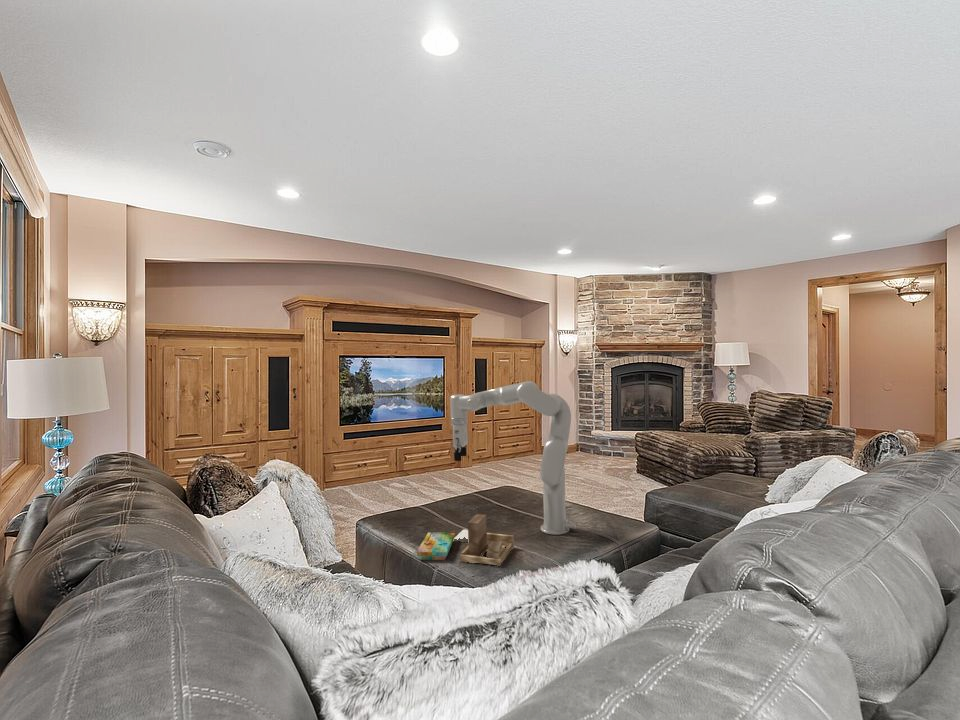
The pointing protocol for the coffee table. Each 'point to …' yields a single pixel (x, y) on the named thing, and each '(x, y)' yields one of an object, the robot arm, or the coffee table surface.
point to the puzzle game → (435, 546)
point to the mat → (462, 535)
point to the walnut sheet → (477, 535)
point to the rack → (505, 539)
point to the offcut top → (495, 547)
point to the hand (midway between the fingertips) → (460, 458)
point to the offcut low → (496, 555)
